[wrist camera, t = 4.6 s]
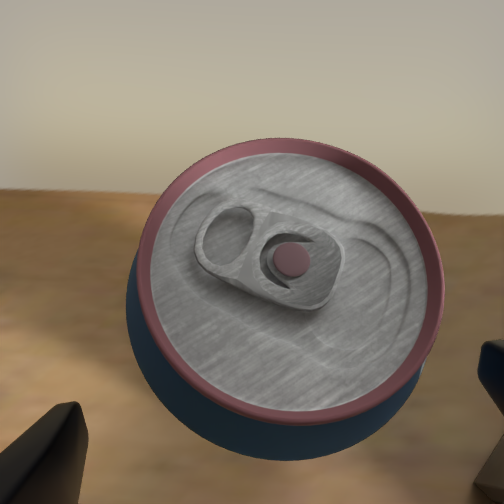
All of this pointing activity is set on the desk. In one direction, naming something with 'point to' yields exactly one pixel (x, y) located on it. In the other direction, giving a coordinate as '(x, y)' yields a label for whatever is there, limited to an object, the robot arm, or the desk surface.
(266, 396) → the soda can
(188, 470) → the desk surface
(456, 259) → the desk surface
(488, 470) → the shelf
